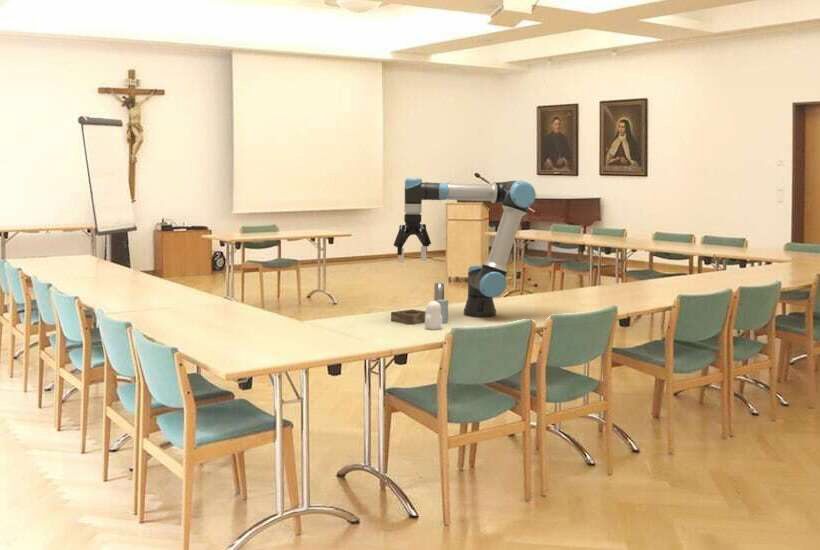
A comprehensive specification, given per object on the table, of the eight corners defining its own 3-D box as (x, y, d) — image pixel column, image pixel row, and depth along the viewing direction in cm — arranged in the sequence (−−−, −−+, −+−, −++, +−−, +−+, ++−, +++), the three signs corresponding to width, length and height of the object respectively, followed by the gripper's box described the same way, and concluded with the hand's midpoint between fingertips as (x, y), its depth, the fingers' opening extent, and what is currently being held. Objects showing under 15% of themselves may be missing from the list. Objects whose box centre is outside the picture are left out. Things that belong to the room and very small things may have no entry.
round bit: (438, 317, 410) (439, 282, 408) (445, 318, 407) (446, 283, 405) (432, 318, 407) (432, 283, 405) (438, 319, 404) (439, 284, 402)
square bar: (439, 321, 398) (440, 299, 397) (447, 322, 396) (448, 300, 395) (435, 323, 395) (436, 300, 394) (443, 323, 393) (444, 301, 392)
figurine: (427, 330, 376) (427, 302, 375) (422, 327, 383) (422, 299, 382) (443, 329, 378) (444, 301, 376) (438, 326, 385) (438, 299, 384)
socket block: (412, 318, 407) (412, 309, 407) (432, 321, 398) (432, 312, 397) (391, 320, 399) (391, 312, 398) (410, 324, 389) (410, 315, 389)
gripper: (427, 212, 404) (426, 259, 406) (385, 213, 387) (385, 262, 390) (439, 213, 398) (438, 260, 401) (397, 214, 382) (397, 263, 384)
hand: (412, 261), depth 395 cm, fingers open, 13 cm apart
